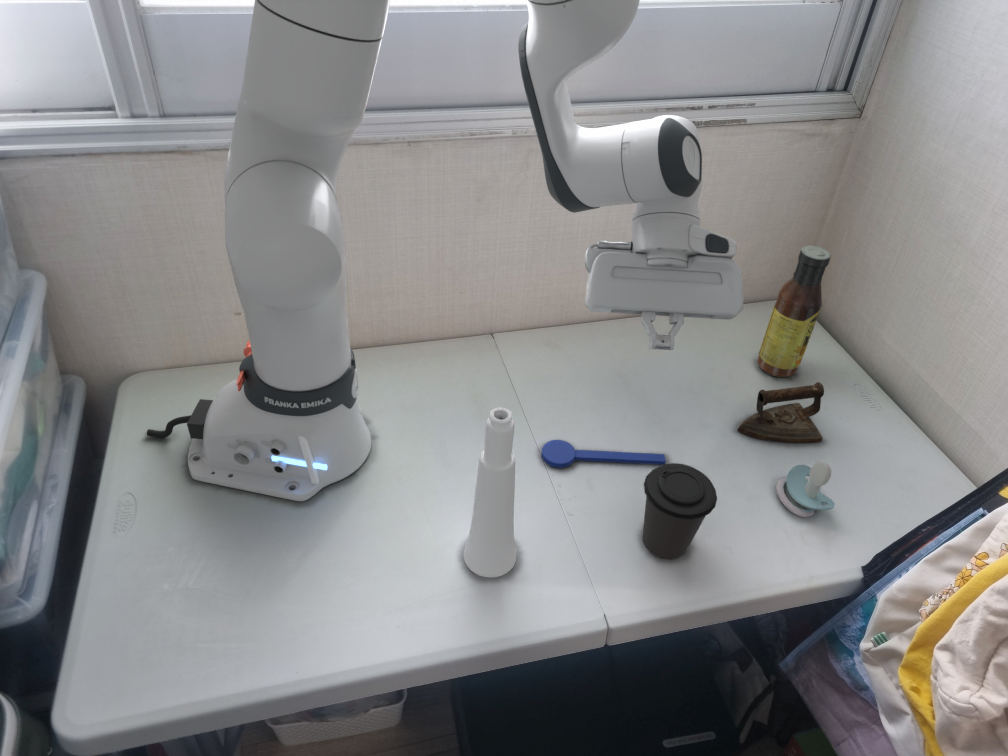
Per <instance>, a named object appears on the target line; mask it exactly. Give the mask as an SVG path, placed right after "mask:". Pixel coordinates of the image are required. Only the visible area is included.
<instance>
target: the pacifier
mask: <svg viewBox="0 0 1008 756" xmlns="http://www.w3.org/2000/svg"><path fill="white" fill-rule="evenodd" d="M806 477H808V480H807V478H806ZM831 477H832V468H831V465H829V463H828V462H826V461H825V460H816V461H815V462H814V463H813V464H812V465H811V466H810V465H807V464H797V465H795V466H793V467H792V468H791V469H790V470H788V473H787V474H786V477H781V478H780V479H778V480H777V482H776V486H775V489H776V494H777V496H778V499H779V501H780V502H781V504H782V505H783V506H784V507H785V508H786V509H787V510H788V511H790V512H791V513H792V514H794V515H796V516H799V517H802V518H808V517H811V516H812V515H814V513H815V511H816V510H817V511H828V510H829V511H830V510H833V509H834V508H835V506H836V503H835V502H834V500H833V499H832V498H830V497H829V496H827V495H825V494H823V493H822V492H821V489H822V488H821V487H823V486H825V485H826V484H828V482H829V481H830V480H831ZM785 486H786V489H787V492H788V493H789V496H790V497H791V498H792V499H793V500H794V501H795V502H796V503H797V504H799V506H801V507H803V508H805V509H802V508H799V507H798V506H796V505H795V504H793V502H791V501H790V500H789V498H788V497H787V495H786V493H785V489H784V487H785Z"/></svg>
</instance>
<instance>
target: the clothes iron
mask: <svg viewBox="0 0 1008 756" xmlns="http://www.w3.org/2000/svg"><path fill="white" fill-rule="evenodd" d="M824 394H825V387H824V385H823V383H821V382H820V381H816V382H815V383H814V384H810V385H803V386H793V387H785V388H778V389H769V390H765V389H760V390H759V391H758V392H757V398H756V407H755V409H756V413H754V414H752V415H750V416H748V417H747V418H746V419H744V420H743V421H742V422H741V423H740V425H739V426H738V428H737V429H736V430H737V431H738V432H739V433H741V434H743V435H745V436H748V437H750V438H754V439H758V440H762V441H767V442H773V443H784V444H816V443H822V442H823V436H822V435H821V432H820V431H819V429H818V428H817V426H816V424H815V423H814V422H813V420H812V419H811V417H813V416H815V415H817V414H818V413H819V412H820V410H821V403H822V398H823V397H824ZM808 399H813V402H812V403H811V404H810V405H807V406H806V407H803V406H802V404H801V403H800V402H794V403H787V404H782V405H778V406H773V407H770V408H767V409H764V407H765V406H767V405H768V404H775V403H784V402H789V401H790V402H791V401H799V400H808Z"/></svg>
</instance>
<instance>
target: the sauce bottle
mask: <svg viewBox="0 0 1008 756" xmlns="http://www.w3.org/2000/svg"><path fill="white" fill-rule="evenodd" d="M831 258H832V255H831V252H830V251H828V250H827V249H825V248H823V247H820V246H818V245H805V246H803V247H802V248H801V249H800V251H799V254H798V258H797V260H798V261H797V265H796V268H795V270H794V272H793V275H792V277H791V278H790V279H789V280H788V281H786V282H785V283H784V284H783V285H782V286H781V287H780V289H779V292H778V295H777V298H776V301H775V303H774V305H773V307H772V311H771V313H770V316H769V319H768V324H767V326H766V330H765V332H764V336H763V338H762V342H761V344H760V345H761V346H760V348H759V350H758V357H757V364H758V366H759V368H760V369H761V370H762V371H763V372H764V373H766V374H769V375H771V376H772V377H773V376H774V377H778V378H789V377H791V376H793V375H794V374H795V373H796V372H797V370H798V368H799V367H800V365H801V364H802V361H803V358H804V355H805V352H806V350H807V347H808V344H809V342H810V339H811V337H812V334H813V331H814V329H815V326H816V323H817V320H818V318H819V315H820V313H821V309H822V307H823V303H822V301H823V300H822V281H823V276H824V274H825V272H826V269H827V267H828V266H829V264H830V261H831Z"/></svg>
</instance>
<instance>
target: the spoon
mask: <svg viewBox="0 0 1008 756" xmlns="http://www.w3.org/2000/svg"><path fill="white" fill-rule="evenodd" d="M541 458H542V460H543V461H544V463H546V464H547V465H548V466H550V467H553V468H558V469H563V468H567V467H570V466H571V465H572V464H574V462H575V461H584V462H603V463H622V464H623V463H624V464H626V463H627V464H643V465H645V464H646V465H664V464H667V461H666V455H665V454H664V453H649V452H630V451H629V452H628V451H611V450H610V451H609V450H589V449H588V450H587V449H575V447H574V446H573V445H572V444H571V443H570V442H568V441H567V440H563V439H552V440H549V441H547V442H545V443H544V444H543V446H542V448H541Z"/></svg>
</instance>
